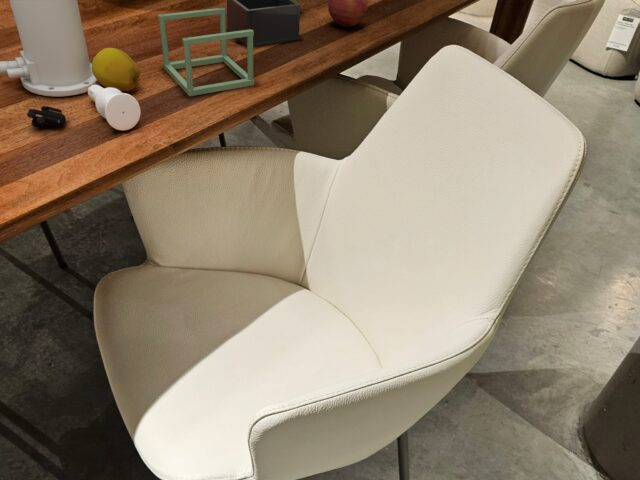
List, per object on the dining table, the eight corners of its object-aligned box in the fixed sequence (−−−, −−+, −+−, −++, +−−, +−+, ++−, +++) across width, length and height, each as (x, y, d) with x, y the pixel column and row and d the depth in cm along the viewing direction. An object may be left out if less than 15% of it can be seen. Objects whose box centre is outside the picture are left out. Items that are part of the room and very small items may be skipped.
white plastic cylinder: (100, 125, 84) (72, 102, 92) (135, 134, 88) (105, 112, 95) (110, 88, 82) (81, 68, 90) (145, 100, 86) (114, 79, 94)
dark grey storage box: (247, 47, 113) (247, 10, 109) (227, 30, 119) (226, -5, 114) (298, 40, 118) (300, 4, 113) (277, 24, 123) (277, -11, 119)
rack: (189, 96, 97) (184, 40, 90) (163, 68, 104) (157, 14, 97) (254, 85, 102) (254, 31, 95) (225, 59, 109) (223, 7, 102)
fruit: (320, 21, 126) (324, -31, 119) (354, 19, 129) (359, -32, 122) (336, 35, 121) (341, -19, 114) (370, 32, 124) (377, -21, 117)
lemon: (153, 75, 98) (115, 49, 98) (138, 57, 91) (97, 30, 92) (131, 107, 98) (93, 81, 98) (115, 91, 91) (75, 64, 92)
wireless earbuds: (63, 123, 84) (24, 113, 82) (61, 140, 85) (23, 131, 83) (67, 109, 89) (31, 99, 87) (65, 125, 90) (29, 116, 88)
